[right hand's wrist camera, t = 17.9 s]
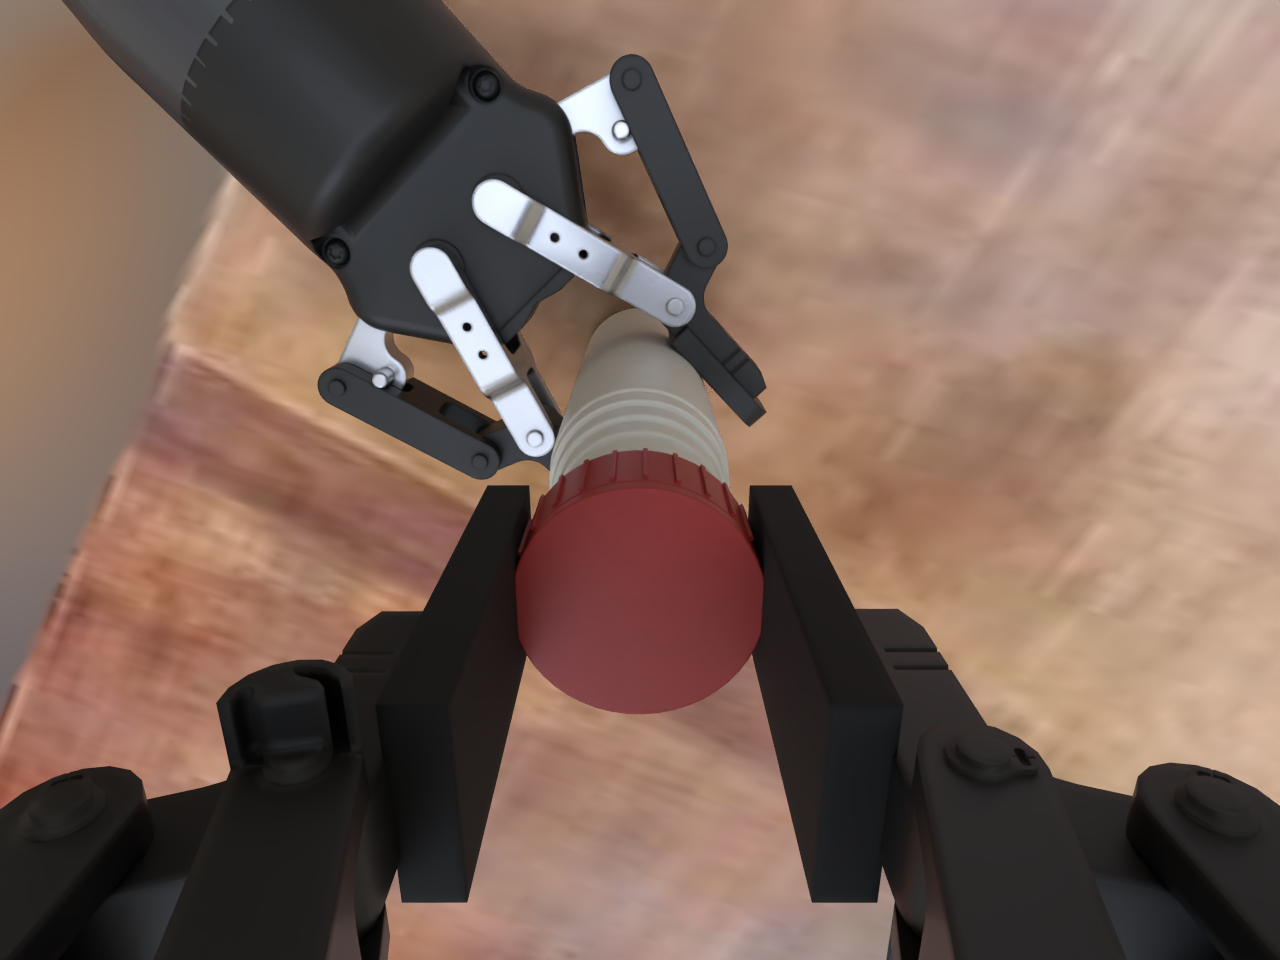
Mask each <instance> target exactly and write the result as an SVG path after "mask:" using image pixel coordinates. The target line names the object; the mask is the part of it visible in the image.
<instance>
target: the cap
mask: <svg viewBox="0 0 1280 960" xmlns="http://www.w3.org/2000/svg"><path fill="white" fill-rule="evenodd" d="M753 540H754V536H753V533H752V530H751V527H750V524H749V521H748V518H747V515H746V512H745V509H744V507H743V505H742V504H741V505H739V504H738V502H737V501H736V500H735V498H734V497H733V495H732V494H731V493H730V491H729V488H728V485H727V484H726V483H725V482H724V483H723V484H722V483H721V482H720V481H719V480H718V479H717V478H716V477H714V476H713V475H712V474H711V473H709V472H708V471H707V470H706V469H705V466H703V465H702V464H701V465H700V466H698V465H697V464H695V463H693V462H690V461H688V460H686V459H683V458H681V457H678V454H676V453H673V455H671V454H668V453H663V452H656V451H648V448H643V450H631V451H621V452H617V450H613V451H612V453H611V454H607V455H603V456H600V457H598V458H595V459H592V460H590V461H589V460H588V459H586V460H584V463H583V464H582V465H580V466H578V467H576V468H575V469H573V470H572V471H570V472H569V473H567V474H566V475H565V476H564V475H563V474H562V475H561V476H559V479H558V482H557V483H556V484H555V485H554V486H553V487H552V488H551V489H550V490H549V492H548V493H547V494H546V495H545V496H544V495H543V494H542V496H541V497H540V499H539V503H538V506H537V509H536V512H535V514H534V517H533V519H529V521H528V524H527V527H526V530H525V532H524V535H523V538H522V541H521V544H520V547H519V550H518V556H519V557H520V558H519V561H518V564H517V567H516V571H515V583H516V599H517V616H518V633H519V641H520V643H521V645H522V647H523V649H524V651H525V653H526V654H527V656H528V657H529V659H530V660H531V662H532V663H533V665H534V666H535V667H536V668H537V669H538V671H539V672H540V673H541V674H542V675H543V676H544V677H545V678H546V679H547V680H548V681H550V682H551V683H552V684H553V685H554V686H555V687H557V688H558V689H560V690H561V691H563V692H564V693H566V694H567V695H569V696H571V697H573V698H575V699H576V700H578V701H580V702H583V703H585V704H588V705H590V706H593V707H596V708H599V709H603V710H607V711H611V712H618V713H625V714H651V713H661V712H666V711H671V710H675V709H678V708H682V707H685V706H688V705H691V704H693V703H695V702H697V701H700V700H702V699H704V698H706V697H707V696H709V695H711V694H712V693H714V692H716V691H717V690H718V689H720V688H721V687H722V686H724V685H725V684H726V683H728V682H729V681H730V680H731V679H732V678H733V677H734V676H735V675H736V674H737V673H738V672H739V671H740V669H741V668H742V667H743V666H744V664H745V663H746V662H747V660H748V659H749V657H750V656H751V654H752V652H753V651H754V649H755V647H756V645H757V643H758V640H759V638H760V634H761V618H762V601H763V584H764V574H763V571H762V568H761V565H760V561H759V558H758V555H757V552H756V549H755V546H754V543H753Z"/></svg>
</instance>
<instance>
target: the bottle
mask: <svg viewBox="0 0 1280 960" xmlns="http://www.w3.org/2000/svg"><path fill="white" fill-rule="evenodd" d="M643 448H648V451H656V452H663V453H668V454H671V455H673V453H676V454H678V457H681V458H683V459H686V460H688V461H690V462H693V463H695V464H697V465H698V466H700V465H701V464H702V465H703V466H705V469H706V470H707V471H708V472H709V473H711V474H712V475H713V476H714V477H716V478H717V479H718V480H719V481H720V482H721V483H722V484H723V483H724V482H725V483H726V484H727V485H728V488H729V485H730V481H729V468H728V458H727V454H726V449H725V446H724V443H723V440H722V437H721V434H720V431H719V428H718V425H717V422H716V419H715V416H714V413H713V410H712V407H711V404H710V401H709V398H708V395H707V392H706V389H705V386H704V383H703V380H702V377H701V376H700V375H699V374H698V372H697V371H696V370H695V369H694V367H693V366H692V365H691V364H690V363H689V362H688V361H687V360H685V359H684V357H683V356H682V355H681V354H680V353H679V352H678V351H677V350H676V349H675V348H674V347H673V346H672V345H671V343H670V339H669V334H668V330H667V328H666V327H665V326H664V325H663V324H662V323H661V322H660V321H658V320H656V319H654V318H653V317H651V316H649V315H648V314H646V313H644V312H642V311H641V310H639V309H637V308H632V309H627V310H623V311H620V312H618V313H615V314H614V315H612V316H610V317H609V318H607V319H606V320H605V321H604V322H602V323H601V324H600V325H599V327H598V328H597V329H596V330H595V332H594V333H593V335H592V337H591V339H590V341H589V344H588V346H587V349H586V352H585V355H584V358H583V361H582V364H581V367H580V370H579V373H578V376H577V379H576V382H575V385H574V388H573V391H572V394H571V397H570V400H569V403H568V406H567V409H566V412H565V415H564V418H563V421H562V424H561V427H560V429H559V432H558V435H557V438H556V441H555V444H554V448H553V451H552V455H551V462H550V474H549V490H550V489H551V488H552V487H553V486H554V485H555V484H556V483H557V482H558V479H559V476H561V475H562V474H563V475H564V476H565V475H566V474H567V473H569V472H570V471H572V470H573V469H575V468H576V467H578V466H580V465H582V464H583V463H584V460H586V459H588V460H589V461H590V460H592V459H595V458H598V457H600V456H603V455H607V454H611V453H612V451H613V450H617V452H621V451H631V450H643Z"/></svg>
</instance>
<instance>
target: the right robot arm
mask: <svg viewBox="0 0 1280 960" xmlns="http://www.w3.org/2000/svg"><path fill="white" fill-rule="evenodd" d="M529 519H531V511H530V491H529V485H501V486H487V488H486V490H485V492H484V494H483V495H482V497H481V499H480V501H479V503H478V505H477V507H476V509H475V511H474V513H473V515H472V517H471V519H470V521H469V523H468V525H467V527H466V529H465V531H464V533H463V534H462V536H461V538H460V540H459V542H458V544H457V546H456V548H455V550H454V552H453V554H452V556H451V558H450V560H449V562H448V564H447V566H446V568H445V570H444V571H443V573H442V575H441V577H440V579H439V581H438V583H437V585H436V587H435V589H434V591H433V593H432V595H431V597H430V599H429V601H428V603H427V605H426V607H425V608H424V610H423V611H382V612H380V613H379V614H377V615H376V616H375V617H373V618H372V619H370V620H369V621H368V622H366V623H365V624H363V625H362V626H361V627H359V628H358V629H356V631H355V632H354V634H353V635H352V637H351V638H350V640H349V641H348V643H347V645H346V646H345V648H344V649H343V653H342V655H339V657H338V658H337V660H336V662H335V663H332V662H329V661H325V660H295V661H290V662H285V663H280V664H275V665H272V666H269V667H267V668H264V669H262V670H259V671H257V672H254V673H252V674H249V675H247V676H246V677H244V678H243V679H241V680H240V681H238V682H237V683H235V684H234V685H232V686H231V687H229V688H228V689H227V690H226V692H225V693H224V694H223V695H222V697H221V698H220V699H219V700H218V701H217V703H216V704H217V709H218V713H219V718H220V722H221V727H222V732H223V736H224V741H225V745H226V750H227V755H228V759H229V764H230V769H231V770H230V773H229V775H228V778H227V780H226V781H224V782H220V783H217V784H213V785H210V786H206V787H203V788H198V789H194V790H189V791H184V792H180V793H175V794H171V795H166V796H161V797H157V798H152V799H148V800H147V798H146V794H145V791H144V787H143V783H142V780H141V779H140V778H139V777H138V776H136V775H135V774H134V773H133V772H132V771H131V770H127V769H122V768H117V767H111V766H107V767H97V768H87V769H81V770H78V771H73V772H70V773H68V774H63V775H60V776H57V777H54V778H52V779H50V780H48V781H46V782H44V783H42V784H40V785H38V786H36V787H33V788H31V789H29V790H27V791H25V792H23V793H22V794H21V795H19V796H18V797H17V798H15V799H14V800H13V801H11V802H10V803H8V804H7V805H6V806H4V807H3V808H2V809H0V960H387V959H388V949H389V940H390V933H389V926H388V919H387V912H386V905H385V901H386V898H387V895H388V892H389V889H390V887H391V884H392V881H393V878H394V875H395V873H396V870H398V877H399V885H400V892H401V900H402V903H447V902H467V901H468V897H469V893H470V889H471V884H472V880H473V876H474V872H475V868H476V864H477V859H478V855H479V851H480V847H481V843H482V839H483V835H484V830H485V826H486V822H487V818H488V814H489V810H490V806H491V801H492V797H493V793H494V789H495V785H496V781H497V777H498V772H499V768H500V764H501V760H502V756H503V752H504V748H505V743H506V739H507V735H508V731H509V727H510V723H511V719H512V714H513V710H514V706H515V702H516V698H517V694H518V690H519V685H520V681H521V677H522V673H523V669H524V665H525V661H526V656H527V654H526V653H525V651H524V649H523V647H522V645H521V643H520V641H519V633H518V616H517V599H516V583H515V571H516V567H517V564H518V561H519V558H520V557H519V556H518V550H519V547H520V544H521V541H522V538H523V535H524V532H525V530H526V527H527V524H528V521H529ZM748 521H749V524H750V527H751V530H752V533H753V536H754V540H753V543H754V546H755V549H756V552H757V555H758V558H759V561H760V565H761V568H762V571H763V574H764V584H763V601H762V618H761V634H760V638H759V640H758V643H757V645H756V647H755V649H754V651H753V652H752V656H753V660H754V664H755V668H756V672H757V677H758V681H759V685H760V689H761V693H762V697H763V701H764V706H765V710H766V714H767V718H768V722H769V726H770V730H771V735H772V739H773V743H774V747H775V751H776V755H777V759H778V764H779V768H780V772H781V776H782V780H783V784H784V789H785V793H786V797H787V801H788V805H789V809H790V813H791V818H792V822H793V826H794V830H795V834H796V838H797V842H798V847H799V851H800V855H801V859H802V863H803V867H804V872H805V876H806V880H807V884H808V888H809V892H810V896H811V901H812V903H877V900H878V893H879V885H880V878H881V871H882V866H883V869H884V871H885V874H886V877H887V880H888V883H889V885H890V888H891V891H892V894H893V896H894V899H895V905H894V912H893V919H892V926H891V933H890V939H889V946H888V953H887V960H1280V806H1279V805H1278V804H1277V803H1275V802H1274V801H1273V800H1271V799H1270V798H1268V797H1267V796H1266V795H1264V794H1263V793H1262V792H1260V791H1259V790H1258V789H1256V788H1254V787H1252V786H1250V785H1248V784H1246V783H1244V782H1242V781H1240V780H1238V779H1236V778H1233V777H1232V776H1230V775H1228V774H1225V773H1222V772H1219V771H1216V770H1211V769H1209V768H1205V767H1201V766H1197V765H1189V764H1178V763H1166V764H1160V765H1155V766H1150V767H1148V768H1147V769H1146V770H1145V771H1144V772H1143V773H1142V774H1140V775H1139V776H1138V779H1137V782H1136V786H1135V790H1134V794H1133V796H1129V795H1125V794H1120V793H1115V792H1111V791H1106V790H1101V789H1097V788H1092V787H1088V786H1083V785H1078V784H1075V783H1071V782H1067V781H1064V780H1060V779H1057V778H1054V777H1053V776H1052V774H1051V772H1050V769H1049V768H1048V766H1047V765H1046V763H1045V762H1044V760H1043V759H1042V758H1041V756H1040V755H1039V753H1038V752H1037V751H1035V750H1034V749H1033V748H1031V747H1030V746H1029V745H1027V744H1026V743H1025V742H1023V741H1022V740H1021V739H1020V738H1018V737H1016V736H1013V735H1011V734H1009V733H1007V732H1004V731H1002V730H1000V729H998V728H996V727H991V726H987V724H986V723H985V721H984V720H983V718H982V717H981V715H980V714H979V712H978V711H977V709H976V707H975V706H974V704H973V703H972V701H971V700H970V698H969V697H968V695H967V694H966V692H965V691H964V689H963V687H962V686H961V684H960V683H959V681H958V680H957V678H956V677H955V675H954V674H953V672H952V670H949V669H948V664H947V663H946V661H945V660H944V658H943V657H942V655H941V654H940V652H937V647H936V646H935V644H934V643H933V641H932V640H931V638H930V637H929V635H928V633H927V632H926V630H925V629H924V627H923V626H921V625H920V624H918V623H917V622H915V621H914V620H913V619H911V618H910V617H908V616H907V615H905V614H904V613H903V612H901V611H900V610H898V609H855V608H854V606H853V605H852V603H851V601H850V599H849V597H848V595H847V593H846V591H845V589H844V587H843V585H842V583H841V581H840V579H839V577H838V575H837V573H836V571H835V569H834V567H833V566H832V564H831V562H830V560H829V558H828V556H827V554H826V552H825V550H824V548H823V546H822V544H821V542H820V540H819V538H818V536H817V534H816V532H815V530H814V528H813V527H812V525H811V523H810V521H809V519H808V517H807V515H806V513H805V511H804V509H803V507H802V505H801V503H800V501H799V499H798V497H797V495H796V493H795V491H794V489H793V488H792V486H750V493H749V513H748Z"/></svg>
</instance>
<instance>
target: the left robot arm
mask: <svg viewBox="0 0 1280 960" xmlns="http://www.w3.org/2000/svg"><path fill="white" fill-rule="evenodd" d="M62 1H63V2H64V3H65V5H66V6H67V7H68V8H69V9H70V11H71V12H72V13H73V14H74V15H75V17H76V18H77V19H78V20H79V21H80V23H81V24H82V25H83V26H84V28H85V29H86V30H87V31H88V33H89V34H90V35H91V36H92V37H93V39H94V40H95V41H96V42H97V43H98V44H99V46H100V47H101V48H102V49H103V50H104V51H105V53H106V54H107V55H108V56H109V57H110V58H111V59H112V60H113V61H114V62H115V63H116V64H117V65H118V66H119V67H120V68H121V69H122V70H123V71H124V72H125V73H126V74H127V75H128V76H129V77H130V78H131V79H132V80H133V81H134V82H136V83H137V84H138V85H139V86H140V87H141V88H142V89H143V90H144V91H145V92H146V93H147V94H148V95H149V96H150V97H151V98H152V99H153V100H154V101H155V102H156V103H158V104H159V105H160V106H161V107H162V108H163V109H164V110H165V111H166V112H167V113H168V114H169V115H170V116H171V117H172V118H173V119H174V120H175V121H176V122H177V123H178V124H179V125H180V126H181V127H182V128H184V129H185V130H186V131H187V132H188V133H189V134H190V135H191V136H192V137H193V138H194V139H195V140H196V141H197V142H198V143H199V144H200V145H201V146H202V147H203V148H204V149H205V150H206V151H208V152H209V153H210V154H211V155H212V156H213V157H214V158H215V159H216V160H217V161H218V162H219V163H220V164H221V165H222V166H223V167H224V168H225V169H226V170H227V171H228V172H230V173H231V174H232V175H233V176H234V177H235V178H236V179H237V180H238V181H239V182H240V183H241V184H242V185H243V186H244V187H245V188H246V189H247V190H248V191H249V192H250V193H251V194H252V195H254V196H255V197H256V198H257V199H258V200H259V201H260V202H261V203H262V204H263V205H264V206H265V207H266V208H267V209H268V210H269V211H270V212H271V213H272V214H273V215H274V216H275V217H276V218H277V219H279V220H280V221H281V222H282V223H283V224H284V225H285V226H286V227H287V228H288V229H289V230H290V231H291V232H292V233H293V234H294V235H295V236H296V237H297V238H298V239H299V240H300V241H301V242H303V243H304V244H305V245H306V246H307V247H308V248H309V249H310V250H311V251H312V252H313V253H314V254H316V255H317V256H318V257H319V258H320V259H321V260H323V261H324V262H325V263H326V264H327V265H328V266H329V267H330V268H331V269H332V270H333V271H334V272H335V274H336V275H337V276H338V278H339V280H340V281H341V283H342V285H343V287H344V289H345V291H346V294H347V297H348V300H349V303H350V305H351V307H352V309H353V311H354V312H355V313H356V315H357V316H358V319H357V322H356V324H355V326H354V328H353V331H352V333H351V335H350V337H349V340H348V342H347V344H346V346H345V349H344V351H343V353H342V355H341V358H340V360H339V362H338V363H337V364H336V365H334V366H332V367H331V368H329V369H327V370H325V371H324V372H323V373H322V374H321V375H320V377H319V379H318V390H319V393H320V395H321V396H322V398H323V399H324V400H325V401H326V402H327V403H329V404H331V405H333V406H335V407H337V408H338V409H340V410H342V411H344V412H346V413H348V414H350V415H352V416H354V417H356V418H358V419H360V420H362V421H364V422H366V423H368V424H370V425H371V426H373V427H375V428H377V429H379V430H381V431H383V432H385V433H387V434H389V435H391V436H393V437H395V438H397V439H399V440H401V441H403V442H405V443H406V444H408V445H410V446H412V447H414V448H416V449H418V450H420V451H422V452H424V453H426V454H428V455H430V456H432V457H434V458H436V459H438V460H439V461H441V462H443V463H445V464H447V465H449V466H451V467H453V468H455V469H457V470H459V471H461V472H463V473H465V474H467V475H469V476H471V477H473V478H475V479H481V480H482V479H488V478H490V477H492V476H493V475H494V474H495V473H496V472H497V471H498V470H500V469H502V468H504V467H507V466H509V465H512V464H514V463H516V462H519V461H523V460H532V461H536V462H539V463H541V464H542V465H544V466H545V467H546V468H547V469H548V470H549V471H550V462H551V455H552V451H553V448H554V444H555V441H556V438H557V435H558V432H559V429H560V427H561V424H562V421H563V417H562V415H561V411H560V409H559V407H558V406H557V404H556V402H555V400H554V398H553V397H552V395H551V393H550V391H549V389H548V387H547V386H546V384H545V382H544V380H543V378H542V377H541V375H540V373H539V371H538V369H537V367H536V365H535V361H534V357H533V355H532V352H531V350H530V348H529V346H528V345H527V343H526V341H525V339H524V337H523V336H522V334H521V332H520V330H521V329H522V328H523V327H524V325H525V324H526V323H527V322H528V321H529V320H530V318H531V317H532V316H533V314H534V312H535V310H536V308H537V307H538V305H539V303H540V301H542V300H544V299H545V298H547V297H549V296H551V295H553V294H554V293H556V292H558V291H560V290H561V289H562V288H563V287H564V286H565V285H566V284H567V283H568V282H569V281H570V280H571V279H572V278H573V277H574V276H575V275H576V276H578V277H580V278H582V279H583V280H585V281H587V282H588V283H590V284H592V285H594V286H595V287H597V288H599V289H601V290H602V291H604V292H606V293H609V294H612V295H614V296H616V297H618V298H620V299H622V300H624V301H625V302H627V303H629V304H630V305H632V306H634V307H636V308H637V309H639V310H641V311H642V312H644V313H646V314H648V315H649V316H651V317H653V318H654V319H656V320H658V321H660V322H661V323H662V324H663V325H664V326H665V327H666V328H667V330H668V334H669V339H670V343H671V345H672V346H673V347H674V348H675V349H676V350H677V351H678V352H679V353H680V354H681V355H682V356H683V357H684V359H685V360H687V361H688V362H689V363H690V364H691V365H692V366H693V367H694V369H695V370H696V371H697V372H698V374H699V375H700V376H701V377H702V378H703V379H704V380H705V381H706V382H707V383H708V384H709V385H710V386H711V387H712V389H713V390H714V391H715V392H716V393H717V394H718V395H719V396H720V397H721V398H722V399H723V400H724V401H725V402H726V404H727V405H728V406H729V407H730V408H731V409H732V410H733V411H734V412H735V413H736V414H737V415H738V416H739V417H740V419H741V420H742V421H743V422H744V423H745V424H746V425H748V426H749V427H750V426H751V425H752V424H754V423H755V422H756V421H757V420H758V419H759V418H761V417H762V416H763V415H764V414H765V413H766V410H765V409H764V407H763V405H762V403H761V402H760V400H759V399H758V398H757V396H758V395H759V394H760V393H761V392H762V391H764V390H765V389H766V385H765V382H764V379H763V377H762V374H761V371H760V370H759V368H758V367H757V365H756V364H755V362H754V361H753V360H752V359H751V358H750V357H749V356H748V355H747V354H746V352H745V351H744V350H743V349H742V348H741V347H740V346H739V345H738V344H737V343H736V341H735V340H734V339H733V338H732V337H731V336H730V335H729V334H728V333H727V331H726V330H725V329H724V328H723V327H722V326H721V325H720V324H719V323H718V322H717V320H716V319H715V318H714V317H713V316H712V315H711V314H710V313H709V312H708V310H707V309H706V308H705V305H704V291H705V288H706V286H707V284H708V282H709V280H710V278H711V276H712V274H713V272H714V270H715V268H716V266H717V265H718V264H720V263H721V262H722V260H723V259H724V258H725V256H726V253H727V249H728V243H727V239H726V236H725V234H724V231H723V229H722V227H721V225H720V222H719V220H718V218H717V216H716V213H715V211H714V209H713V206H712V204H711V202H710V200H709V197H708V195H707V193H706V190H705V188H704V186H703V184H702V181H701V179H700V177H699V174H698V172H697V170H696V168H695V165H694V163H693V161H692V158H691V156H690V154H689V152H688V149H687V147H686V145H685V142H684V140H683V138H682V136H681V133H680V131H679V129H678V126H677V124H676V122H675V120H674V117H673V115H672V113H671V110H670V108H669V106H668V104H667V101H666V99H665V97H664V94H663V92H662V90H661V88H660V85H659V83H658V81H657V78H656V76H655V74H654V72H653V69H652V67H651V65H650V64H649V63H648V61H647V60H645V59H644V58H643V57H641V56H639V55H635V54H629V55H625V56H623V57H621V58H619V59H618V60H617V61H616V62H615V63H614V65H613V66H612V69H611V71H610V74H608V75H606V76H605V77H603V78H601V79H599V80H597V81H596V82H594V83H592V84H590V85H588V86H587V87H585V88H583V89H581V90H579V91H578V92H576V93H574V94H572V95H570V96H569V97H567V98H565V99H563V100H561V101H560V102H558V103H556V102H555V101H554V100H553V99H551V98H550V97H548V96H546V95H544V94H541V93H538V92H535V91H532V90H529V89H527V88H525V87H523V86H521V85H519V84H518V83H516V82H515V81H513V80H512V78H511V77H510V76H509V75H508V74H507V73H506V72H505V71H504V70H503V69H502V68H501V67H500V65H499V64H498V63H497V62H496V61H495V60H494V59H493V58H492V57H491V55H490V54H489V53H488V52H487V51H486V50H485V49H484V48H483V46H482V45H481V44H480V43H479V42H478V41H477V40H476V39H475V38H474V36H473V35H472V34H471V33H470V32H469V31H468V30H467V29H466V28H465V26H464V25H463V24H462V23H461V22H460V21H459V20H458V19H457V18H456V16H455V15H454V14H453V13H452V12H451V11H450V10H449V9H448V7H447V6H446V5H445V4H444V3H443V2H442V1H441V0H62ZM580 134H592V135H594V136H596V137H598V138H599V139H600V140H601V141H602V142H603V144H604V145H605V147H606V148H607V149H608V150H609V151H610V152H611V153H613V154H615V155H617V156H628V155H631V154H633V153H635V152H637V151H638V153H639V155H640V157H641V160H642V162H643V164H644V166H645V168H646V171H647V173H648V175H649V177H650V179H651V181H652V184H653V186H654V188H655V190H656V192H657V195H658V197H659V199H660V201H661V203H662V205H663V208H664V210H665V212H666V214H667V216H668V219H669V221H670V223H671V225H672V227H673V230H674V232H675V234H676V236H677V238H678V240H679V243H678V245H677V247H676V249H675V251H674V253H673V255H672V257H671V259H670V261H669V263H668V265H667V267H666V269H663V268H662V267H660V266H658V265H657V264H655V263H653V262H652V261H650V260H648V259H646V258H645V257H643V256H641V255H640V254H638V253H637V252H635V251H634V250H632V249H631V248H630V247H628V246H626V245H625V244H623V243H622V242H620V241H618V240H617V239H615V238H613V237H612V236H610V235H608V234H607V233H605V232H603V231H602V230H600V229H598V228H597V227H595V226H593V225H591V224H590V223H588V220H587V213H586V207H585V200H584V193H583V186H582V179H581V172H580V165H579V158H578V151H577V145H576V138H575V136H577V135H580ZM393 333H396V334H402V335H407V336H412V337H418V338H423V339H429V340H434V341H439V342H445V343H450V344H454V346H455V348H456V349H457V351H458V353H459V355H460V356H461V358H462V360H463V361H464V363H465V365H466V367H467V368H468V370H469V372H470V373H471V375H472V377H473V379H474V380H475V382H476V384H477V386H478V387H479V389H480V390H481V392H482V393H483V394H484V395H485V396H486V397H487V398H489V399H490V400H491V401H492V402H493V404H494V406H495V407H496V409H497V411H498V412H499V414H500V416H501V418H502V419H501V420H499V421H495V420H493V419H491V418H489V417H487V416H485V415H483V414H482V413H480V412H478V411H476V410H474V409H472V408H470V407H468V406H466V405H465V404H463V403H461V402H459V401H457V400H455V399H453V398H451V397H450V396H448V395H446V394H444V393H442V392H440V391H438V390H436V389H434V388H433V387H431V386H429V385H427V384H425V383H423V382H421V381H419V380H418V379H416V378H414V377H413V374H414V368H413V364H412V362H411V360H410V359H409V358H408V357H407V356H406V355H405V354H403V353H402V352H401V351H400V350H399V349H398V348H397V347H396V345H395V343H394V339H393ZM482 351H485V352H486V353H487V356H485V355H483V354H482Z"/></svg>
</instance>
